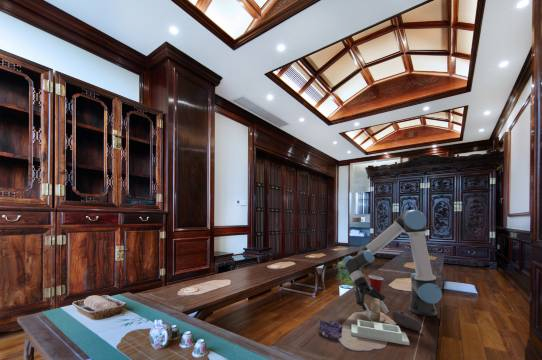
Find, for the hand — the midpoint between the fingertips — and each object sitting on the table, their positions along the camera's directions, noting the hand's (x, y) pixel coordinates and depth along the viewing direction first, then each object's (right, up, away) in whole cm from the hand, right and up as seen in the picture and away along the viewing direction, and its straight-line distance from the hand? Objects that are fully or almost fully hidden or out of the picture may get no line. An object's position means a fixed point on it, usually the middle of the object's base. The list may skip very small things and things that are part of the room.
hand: (378, 314), depth 143 cm
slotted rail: (-7, -3, -15) cm, 17 cm away
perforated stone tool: (+13, -5, -5) cm, 15 cm away
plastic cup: (+21, -12, +55) cm, 60 cm away
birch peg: (-1, -5, +2) cm, 5 cm away
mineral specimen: (-30, -2, -14) cm, 34 cm away
